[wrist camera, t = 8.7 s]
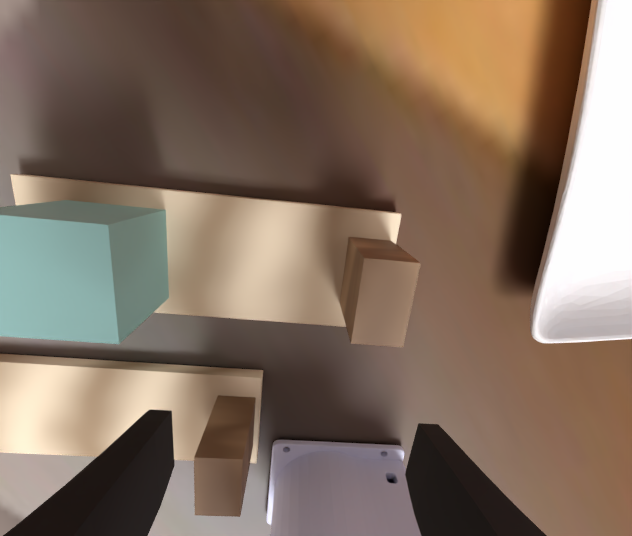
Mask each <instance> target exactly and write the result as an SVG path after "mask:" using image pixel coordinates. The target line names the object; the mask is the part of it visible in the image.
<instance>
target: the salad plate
mask: <svg viewBox="0 0 632 536" xmlns="http://www.w3.org/2000/svg"><path fill="white" fill-rule="evenodd" d="M530 330H531V334H532V336H533V338H534V339H535V340H537V341H538V342H541V343H570V342H588V341H603V340H620V339H632V0H592V1H591V8H590V14H589V21H588V27H587V34H586V40H585V46H584V53H583V59H582V66H581V71H580V77H579V82H578V88H577V93H576V99H575V104H574V109H573V115H572V120H571V126H570V131H569V137H568V142H567V147H566V152H565V157H564V162H563V167H562V172H561V177H560V182H559V187H558V191H557V196H556V201H555V205H554V210H553V214H552V218H551V223H550V227H549V231H548V235H547V239H546V243H545V247H544V252H543V255H542V259H541V263H540V267H539V271H538V275H537V278H536V282H535V286H534V291H533V295H532V301H531V308H530Z"/></svg>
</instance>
